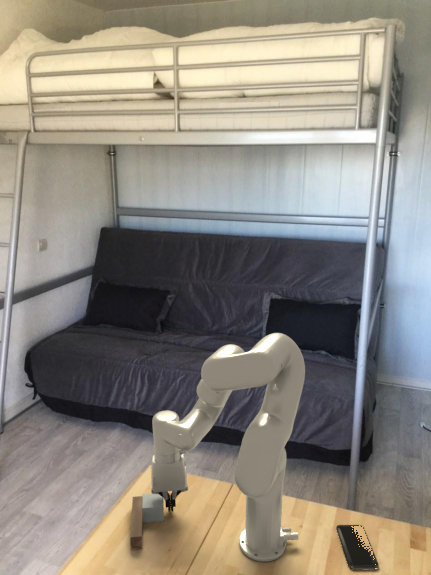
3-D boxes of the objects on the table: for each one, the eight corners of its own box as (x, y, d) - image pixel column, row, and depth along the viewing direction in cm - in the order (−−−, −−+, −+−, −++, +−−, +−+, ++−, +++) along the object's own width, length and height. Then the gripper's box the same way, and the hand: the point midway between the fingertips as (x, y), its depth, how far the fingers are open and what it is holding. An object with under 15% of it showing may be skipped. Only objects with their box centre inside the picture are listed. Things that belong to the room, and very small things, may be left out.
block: (163, 506, 149) (163, 492, 148) (163, 521, 143) (163, 506, 142) (143, 508, 148) (142, 494, 147) (142, 522, 143) (142, 508, 141)
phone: (349, 567, 127) (335, 524, 141) (349, 571, 127) (335, 528, 141) (380, 567, 127) (363, 524, 141) (379, 571, 127) (362, 528, 141)
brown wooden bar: (143, 507, 149) (142, 496, 148) (142, 548, 133) (141, 536, 132) (133, 508, 148) (132, 496, 147) (130, 549, 133) (130, 537, 132)
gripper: (193, 444, 146) (195, 498, 150) (142, 448, 144) (145, 502, 149) (194, 459, 138) (196, 515, 143) (140, 463, 137) (144, 519, 142)
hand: (170, 508), depth 146 cm, fingers closed
